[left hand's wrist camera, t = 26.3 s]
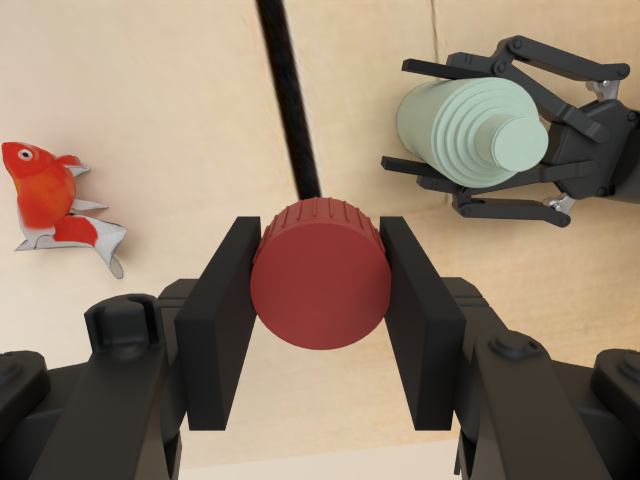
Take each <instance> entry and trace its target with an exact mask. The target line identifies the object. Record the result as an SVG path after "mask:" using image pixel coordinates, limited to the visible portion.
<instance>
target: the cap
mask: <svg viewBox="0 0 640 480" xmlns="http://www.w3.org/2000/svg"><path fill="white" fill-rule="evenodd" d="M385 253H386V250H385V247H384V245H383V242H382V240H381V237H380V235H379V232H378V230H377V228H376V229H375V228H374V226H373V224H372V223H371V220H370V218H369V217H366V216H365V215H364V214H363V213H362V212H361V211H360V210H359V208H358V207H357V208H355V207H354V206H352V205H350V204H348V203H346V201H344V202H343V201H340V200H336V199H332V198H331V197H329V198H317V197H314V198H311V199H306V200H303V201H302V200H299V202H297V203H295V204H293V205H291V206H287V207H286V209H284V210H283V211H282V212H281V213H279V214H278V215H275V217H274V220H273V221H272V222H271V224H270V225H269V226H267V227H266V230H265V232H264V235H263V238H262V239H261V241H260V244H259V246H258V249H257V251H256V254H255V257H254V259H253V262H252V264H254V265H253V268H252V271H251V277H250V295H251V300H252V303H253V306H254V308H255V311H256V313H257V315H258V316H259V318H260V319H261V321H262V322H263V323H264V325H265V326H266V327H267V328H268V329H269V330H270V331H271V332H272V333H274V334H275V335H276V336H278V337H279V338H281V339H282V340H284V341H286V342H288V343H290V344H293V345H295V346H298V347H302V348H306V349H312V350H330V349H337V348H341V347H345V346H348V345H350V344H353V343H355V342H357V341H359V340H361V339H362V338H364V337H365V336H367V335H368V334H369V333H370V332H372V331H373V330H374V329H375V328H376V327H377V326H378V324H379V323H380V322H381V321H382V319H383V317H384V316H385V314H386V312H387V310H388V308H389V304H390V290H391V274H392V273H391V269H390V266H389V263H388V260H387V258H386V255H385Z"/></svg>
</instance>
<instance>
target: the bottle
mask: <svg viewBox="0 0 640 480" xmlns="http://www.w3.org/2000/svg"><path fill="white" fill-rule="evenodd" d="M396 127H397V132H398V136H399V138H400V140H401V142H402V143H403V145H404V146H405V147H406V148H407V149H408V150H409V151H411V152H412V153H414V154H415V155H416V156H418V157H419V158H421V159H422V160H424V161H425V162H426V163H428V164H429V165H431V166H432V167H433V168H435V169H436V170H438V171H439V172H440V173H442V174H443V175H445V176H446V177H448V178H449V179H450V180H452V181H454V182H455V183H458V184H460V185H463V186H466V187H472V188H483V187H489V186H494V185H496V184H499V183H502V182H504V181H506V180H507V179H509V178H510V177H512V176H513V175H515V174H516V173H517V172H521V171H525V170H528V169H530V168H532V167H533V166H535V165H536V164H537V163H538V162H539V161H540V160H541V159H542V158H543V156H544V155H545V153H546V150H547V147H548V134H547V131H546V129H545V127H544V126H543V125H542V123H541V122H540V121H539V115H538V111H537V108H536V105H535V103H534V101H533V99H532V98H531V96H530V95H529V94H528V93H527V92H526V91H525V90H524V89H523V88H522V87H521V86H519V85H518V84H516V83H514V82H512V81H510V80H507V79H503V78H494V77H489V78H475V79H461V80H448V81H434V82H428V83H424V84H422V85H419V86H418V87H416V88H414V89H413V90H412V91H411V92H410V93H409V94H408V95H407V96H406V97H405V98H404V100H403V101H402V103H401V105H400V107H399V110H398V113H397V118H396Z"/></svg>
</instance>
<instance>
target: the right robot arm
mask: <svg viewBox="0 0 640 480" xmlns="http://www.w3.org/2000/svg"><path fill="white" fill-rule="evenodd" d="M513 60H517V61H520V62H523V63H526V64H529V65H532V66H534V67H537V68H540V69H543V70H546V71H549V72H552V73H554V74H557V75H560V76H563V77H566V78H569V79H572V80H575V81H587V82H586V84H585V86H586V87H587V89H588V90H589V91H592V92H595V93H596V94H597V100H595V101H593V102H591V103H589V104H587V105H585V106H582V107H580V108H578V109H577V108H576V107H574V106H572V105H570V104H567V103H566V102H564V101H563V100H561V99H560V98H559V97H557V96H556V95H554V94H553V93H551V92H550V91H549V90H547V89H546V88H544V87H543V86H542V85H540V84H539V83H537V82H536V81H535V80H533V79H532V78H530V77H529V76H528V75H526V74H525V73H523V72H522V71H521V70H519V69H518V68H516V67H515V66H513V65H512V64H511V63H512V61H513ZM402 71H407V72H412V73H418V74H423V75H429V76H434V77H440V78H445V79H450V80H461V79H475V78H489V77H494V78H503V79H507V80H510V81H512V82H514V83H516V84H518V85H519V86H521V87H522V88H523V89H524V90H525V91H526V92H527V93H528V94H529V95H530V96H531V98H532V99H533V101H534V103H535V105H536V108H537V111H538V113H539V114H541V115H542V117H543V118H544V119H546V120H547V121H548V122H550V123H551V126H550V129H549V132H548V147H547V150H546V153H545V155H544V156H543V158H542V159H541V160H540V161H539V162H538V163H537V164H536V165H535V166H533V167H532V168H530V169H528V170H525V171H521V172H517V173H516V174H515V175H513V176H512V177H510V178H509V179H507V180H506V181H504V182H502V183H499V184H496V185H494V186H489V187H483V188H472V187H466V186H463V185H460V184H458V183H455V182H454V181H452V180H450V179H449V178H448V177H446V176H445V175H443V174H442V173H440V172H439V171H438V170H436V169H435V168H433V167H432V166H431V165H429V164H427V163H421V162H415V161H409V160H403V159H398V158H392V157H386V156H383V157H382V161H381V165H382V166H383V168H384V169H385V170H390V171H396V172H402V173H407V174H413V175H418V177H417V181H416V182H417V183H418V184H419V185H420V186H421V187H423V188H424V189H429V190H435V191H440V192H446V193H452V196H453V202H452V207H453V208H454V209H455V210H456V211H457V212H458V213H459V214H460V215H461V216H463V217H468V218H495V219H522V220H544V221H546V222H549V223H551V224H554V225H556V226H558V227H562V228H563V227H566V226H568V225H569V224H570V221H571V218H570V216H568V215H567V214H568V213H569V211H570V209H571V208H572V206H573V205H574V203H575V202H576V200H581V199H585V198H588V197H599V198H605V199H611V200H617V201H623V202H628V203H635V204H640V111H639V110H634V109H629V108H627V107H625V106H624V105H623V104H622V103H621V102H620V101H619V100H617V93H618V88H619V83H620V80H623V79H625V78H626V77H627V76H628V75H629V73H630V67H629V65H628V64H625V63H620V64H599V63H596V62H593V61H590V60H588V59H585V58H582V57H579V56H576V55H574V54H571V53H568V52H565V51H562V50H559V49H557V48H554V47H551V46H548V45H545V44H543V43H540V42H537V41H534V40H531V39H529V38H526V37H523V36H519V35H517V36H514V37H510V38H506V39H503V40H501V41H500V42H499V43H498V45H497V49H496V51H495V52H494V54H493V55H492V56H491V57H484V56H478V55H473V54H467V53H463V52H459V53H455V54H451V55H448V59H447V63H446V65H442V64H437V63H431V62H426V61H421V60H415V59H407V60H404V61H403V65H402ZM538 182H542V183H547V182H553V183H554V184H555V185H556V187H557V188H558V189H559V190H560V192H561V195H560V196H558V197H556V198H551V197H550V198H547V199H544V200H543V201H542V203H541V202H538V201H534V200H517V199H490V198H471V195H476V194H481V193H486V192H492V191H497V190H502V189H507V188H512V187H517V186H522V185H528V184H533V183H538Z"/></svg>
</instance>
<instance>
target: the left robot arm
mask: <svg viewBox="0 0 640 480" xmlns="http://www.w3.org/2000/svg"><path fill="white" fill-rule="evenodd" d="M379 235H380V237H381V240H382V242H383V245H384V247H385V250H386V253H385V255H386V258H387V260H388V263H389V266H390V269H391V273H392V274H391V290H390V304H389V308H388V310H387V312H386V314H385V316H384V318H385V322H386V326H387V329H388V333H389V337H390V340H391V344H392V348H393V351H394V355H395V359H396V362H397V366H398V369H399V373H400V377H401V380H402V384H403V388H404V391H405V395H406V399H407V402H408V406H409V410H410V413H411V417H412V420H413V424H414V428H415V431H451V425H452V418H453V411H455V413H456V416H457V418H458V420H459V423H460V425H461V430H460V436H459V443H458V449H457V455H456V462H455V469H454V474H455V475H459V474H460V469H461V474H462V480H640V352H637V351H634V350H625V349H608V350H603V351H602V352H600V353H599V354H598V355H597V357H596V360H595V364H594V368H589V367H584V366H579V365H573V364H568V363H563V362H559V361H555V360H551V358H550V356H549V354H548V352H547V351H546V349H545V348H544V347H543V346H542V345H541V344H540V343H539V342H537V341H536V340H534V339H533V338H531V337H530V336H527V335H524V334H522V333H519V332H517V331H512V330H508V328H507V327H506V326H505V325H504V323H503V322H502V321H501V319H500V318H499V317H498V315H497V314H496V313H495V312H494V310H493V309H492V308H491V307H489V304H488V302H487V301H486V300H485V299H484V298H483V296H482V295H481V293H480V292H479V291H478V289H477V288H476V287H475V286H474V285H472V284H471V283H469V282H467V281H466V280H464V279H463V278H461V277H440V276H439V274H438V273H437V271H436V270H435V268H434V266H433V265H432V263H431V261H430V260H429V258H428V257H427V255H426V253H425V252H424V250H423V249H422V247H421V245H420V244H419V242H418V241H417V239H416V237H415V236H414V234H413V233H412V231H411V229H410V228H409V226H408V225H407V223H406V221H405V220H404V218H403V217H380V229H379ZM260 241H261V223H260V217H237V219H236V220H235V222H234V223H233V225H232V227H231V228H230V230H229V231H228V233H227V235H226V236H225V238H224V239H223V241H222V243H221V244H220V246H219V248H218V249H217V251H216V252H215V254H214V256H213V257H212V259H211V260H210V262H209V264H208V265H207V267H206V268H205V270H204V272H203V273H202V275H201V276H200V278H199V279H179V280H177V281H175V282H174V283H172V284H170V285H169V286H167V287H166V288H165V289H164V290H163V291H162V293H161V294H160V295H159V297H158V299H157V298H156V297H154V296H152V295H147V294H126V295H120V296H115V297H112V298H109V299H106V300H103V301H101V302H99V303H97V304H95V305H94V306H92V307H90V308H89V309H88V310H87V311H86V312H85V313H84V317H85V321H86V326H87V330H88V334H89V339H90V343H91V347H92V354H91V356H90V358H89V360H88V362H85V363H81V364H77V365H71V366H66V367H61V368H56V369H51V370H47V366H46V363H45V359H44V357H43V356H42V355H41V354H39V353H38V352H33V351H27V350H26V351H15V352H14V351H12V352H6V353H4V354H0V480H178V474H179V467H180V459H181V451H182V443H181V436H180V430H179V428H180V426H181V423H182V421H183V418H184V416H185V414H186V411H187V416H188V423H189V430H190V431H225V429H226V425H227V422H228V418H229V414H230V411H231V407H232V403H233V400H234V396H235V392H236V389H237V385H238V381H239V378H240V374H241V370H242V367H243V363H244V360H245V356H246V352H247V349H248V345H249V341H250V338H251V334H252V330H253V327H254V323H255V319H256V316H257V313H256V311H255V308H254V306H253V303H252V300H251V295H250V277H251V271H252V268H253V265H254V264H252V262H253V259H254V257H255V254H256V251H257V249H258V246H259V244H260Z"/></svg>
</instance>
